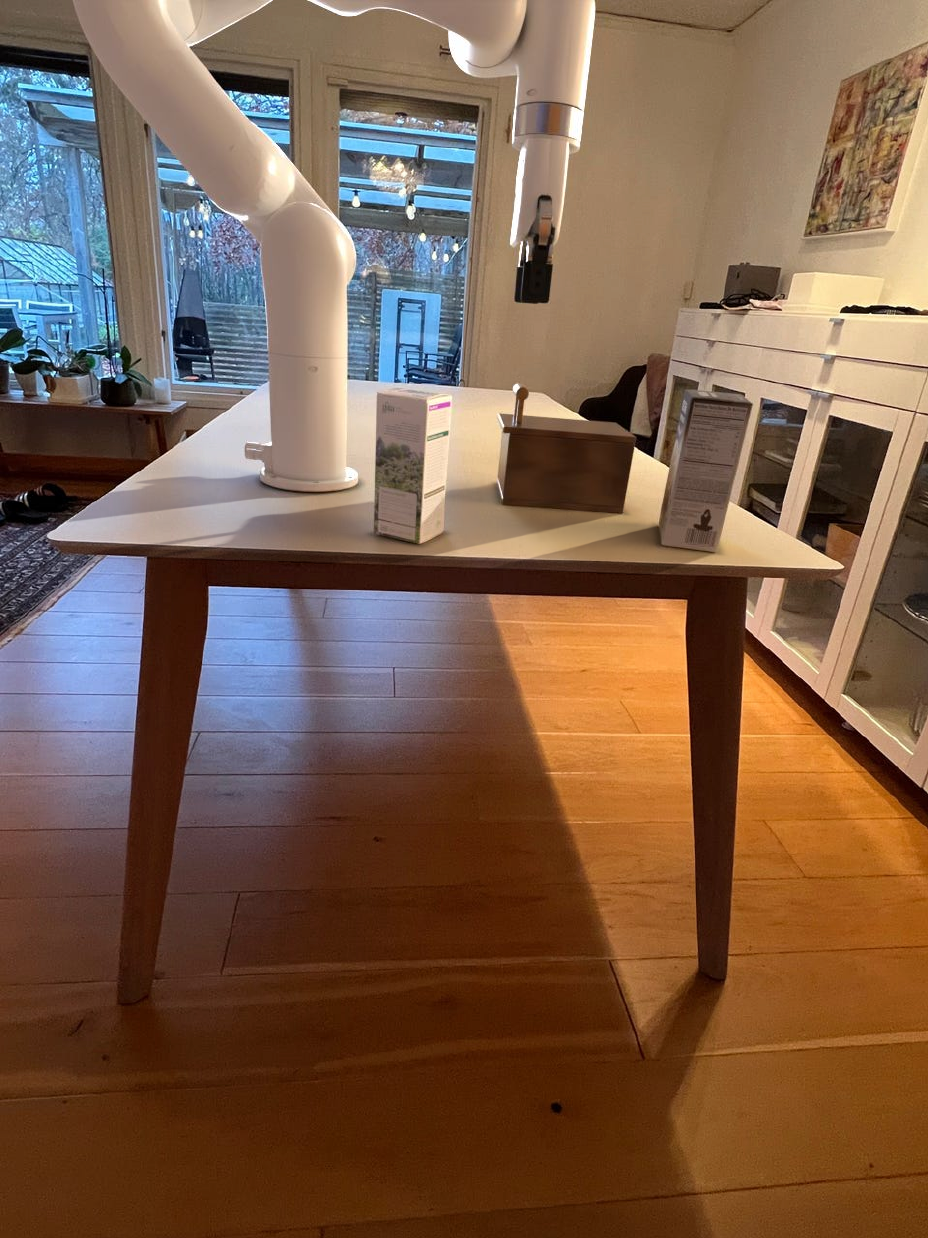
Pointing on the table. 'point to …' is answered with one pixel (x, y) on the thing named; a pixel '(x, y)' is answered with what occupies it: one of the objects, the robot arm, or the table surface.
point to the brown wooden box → (564, 472)
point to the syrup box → (411, 463)
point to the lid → (559, 424)
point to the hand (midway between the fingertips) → (530, 302)
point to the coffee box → (703, 468)
